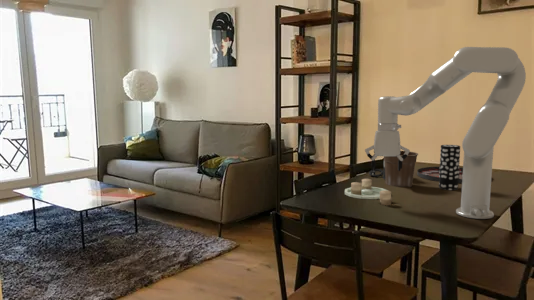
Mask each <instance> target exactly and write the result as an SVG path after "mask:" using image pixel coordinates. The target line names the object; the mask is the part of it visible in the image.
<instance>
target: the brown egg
mask: <svg viewBox="0 0 534 300" xmlns="http://www.w3.org/2000/svg"><path fill="white" fill-rule="evenodd" d="M387 190H388V189H386V190H384V191H380V199H379V202H380V203H379V205H381V206H385V205H386V206H390V205H392V191H391V190H388V191H387Z"/></svg>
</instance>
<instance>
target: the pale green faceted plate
mask: <svg viewBox="0 0 534 300" xmlns="http://www.w3.org/2000/svg"><path fill="white" fill-rule="evenodd" d="M384 190H387V191H389V190H388V189H386V188H382V187H376V186H372V190H371V189H362V190H361V195H355V194H351V186H350V187H347V188H345V189H344V196H345V195H346V196H348V197H351V198H354V199H362V200H380V191H384Z"/></svg>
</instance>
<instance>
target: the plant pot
mask: <svg viewBox="0 0 534 300" xmlns="http://www.w3.org/2000/svg"><path fill="white" fill-rule="evenodd" d="M404 153H405V151H404V150H400V156H403V155H404ZM418 156H419V153H418V152H416V151H410V152H409V154H408V155H407V157H406V158H405V159H404V160H403V161H402V169H400V171H398V160H399V158H398V157H397V156H383V162H384V161H385V178H386V179H385V184H386V185H388V186H392V187H409V188H411V187H413V181H414V173H415V166H416V163H417V160H418V159H417V157H418Z"/></svg>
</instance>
